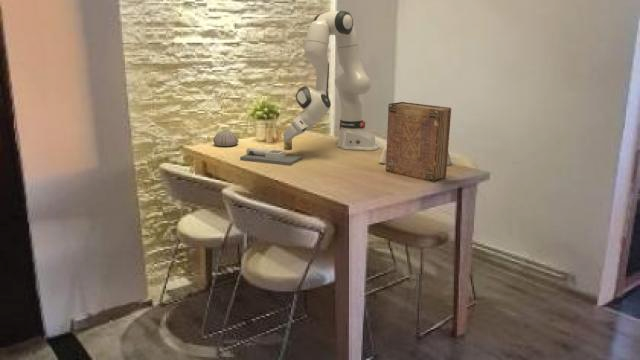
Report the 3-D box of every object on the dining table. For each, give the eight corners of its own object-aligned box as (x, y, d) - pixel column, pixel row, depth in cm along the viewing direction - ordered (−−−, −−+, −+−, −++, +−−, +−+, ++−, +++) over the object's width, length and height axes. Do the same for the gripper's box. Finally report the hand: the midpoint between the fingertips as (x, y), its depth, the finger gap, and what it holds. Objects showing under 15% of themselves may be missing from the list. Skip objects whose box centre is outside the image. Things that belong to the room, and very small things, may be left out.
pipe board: (302, 159, 264) (302, 150, 262) (290, 165, 251) (290, 155, 250) (254, 154, 273) (254, 145, 272) (240, 159, 260) (240, 150, 259)
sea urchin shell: (208, 145, 292) (207, 130, 290) (228, 141, 302) (227, 127, 300) (224, 149, 284) (224, 133, 282) (244, 145, 294) (243, 130, 292)
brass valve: (293, 148, 274) (293, 132, 271) (290, 150, 270) (289, 134, 268) (286, 148, 275) (285, 132, 273) (282, 149, 271) (282, 133, 269)
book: (446, 178, 233) (451, 107, 225) (434, 182, 227) (439, 109, 219) (397, 167, 250) (401, 101, 242) (385, 171, 244) (388, 103, 236)
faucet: (406, 169, 266) (412, 150, 266) (383, 163, 254) (388, 142, 254) (400, 168, 269) (405, 148, 269) (376, 161, 257) (382, 141, 257)
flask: (441, 161, 263) (443, 141, 260) (454, 164, 258) (456, 143, 255) (432, 164, 258) (434, 143, 255) (445, 166, 253) (447, 145, 250)
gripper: (308, 113, 275) (291, 131, 281) (291, 120, 257) (273, 139, 263) (317, 123, 274) (299, 141, 281) (300, 130, 256) (282, 149, 262)
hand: (286, 140), depth 271 cm, fingers closed on brass valve, 4 cm apart
